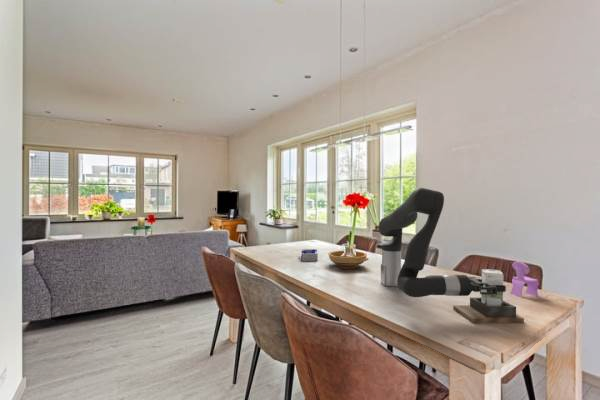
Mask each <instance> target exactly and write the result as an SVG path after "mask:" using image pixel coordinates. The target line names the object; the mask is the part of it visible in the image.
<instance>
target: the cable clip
mask: <svg viewBox="0 0 600 400" xmlns="http://www.w3.org/2000/svg"><path fill="white" fill-rule="evenodd" d="M312 249H313V250H312V253H310V254H315V251H316V252H317V253H318V249H315V248H312ZM302 253H304V254H307V253H306V251H302V250H301V254H302Z"/></svg>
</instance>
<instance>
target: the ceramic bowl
mask: <svg viewBox="0 0 600 400" xmlns="http://www.w3.org/2000/svg"><path fill="white" fill-rule="evenodd" d="M344 251H345V250H334V251H330V252H327V253H328V254H327V255H328V258H329V260H330V261H331V263H333V264H334V265H335V264H336V265H337V266H338V267H339V268H342V269H355V268H357V266H359V265H362V264H363V263H364V262H367V261H369V258H368V257H367V256H368V254H367V253H366V252H363V251H358V250H357V251H356V250H354V251H355V252H356V256H357V257H340V256H341V255H342V254H343V253H344Z"/></svg>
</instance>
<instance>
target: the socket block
mask: <svg viewBox="0 0 600 400" xmlns="http://www.w3.org/2000/svg"><path fill="white" fill-rule="evenodd" d="M452 307H453V308H452V309H453V311H455V312H456V313H458V314H460V315H461V316H462V317H463V318H465V319H466V320H468V321H470V322H471V323H472V324H511V323H512V324H517V323H520V324H523V323H525V318H524V317H522V316H520V315H519V314H517V306H515V305H513V304H511V303H509V302H507V301H505V300H503V306H487V305H486V304H484V303H482V302H481V296H480V297H469V305H465V304H464V305H463V304H461V305H458V304H457V305H453V306H452Z"/></svg>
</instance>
